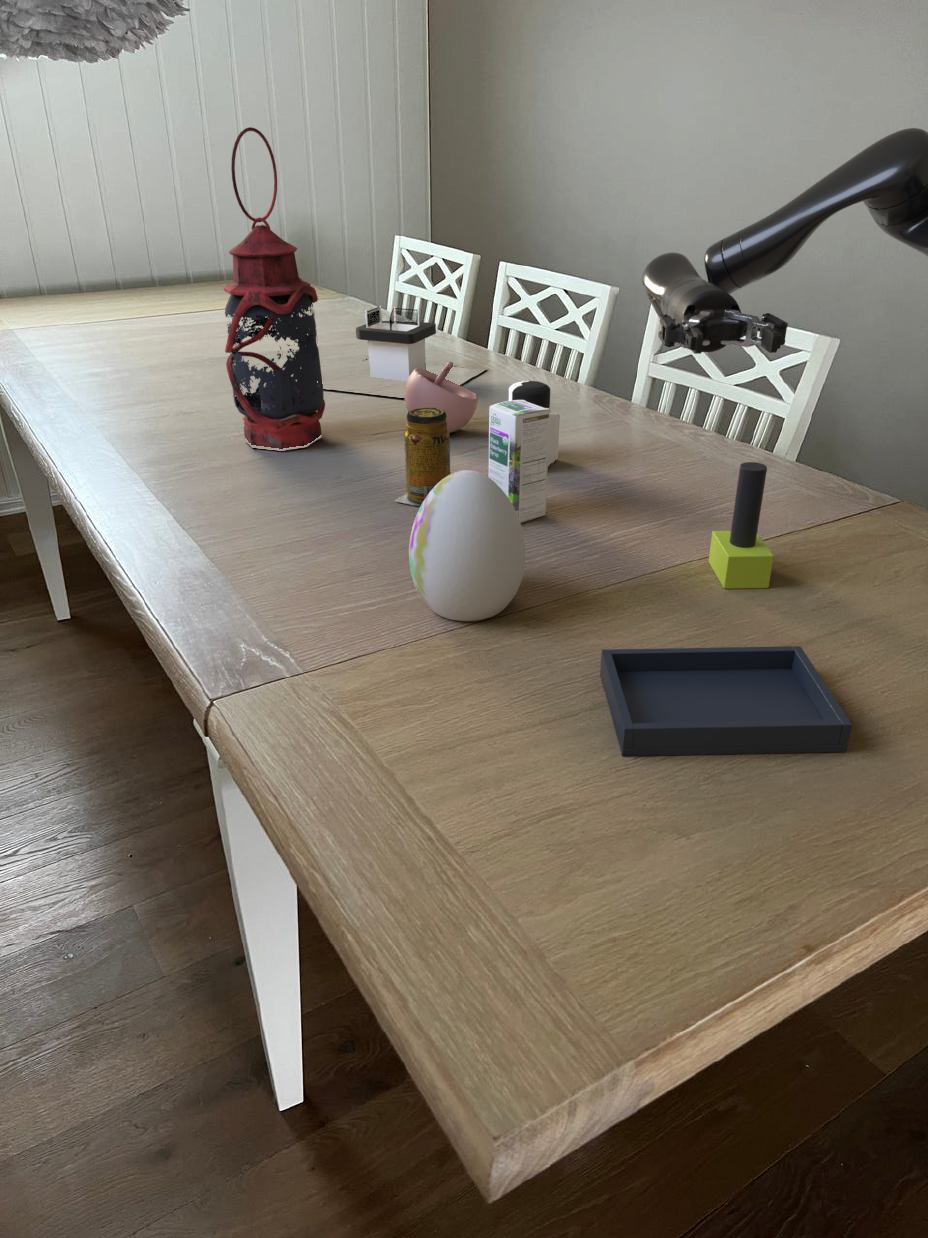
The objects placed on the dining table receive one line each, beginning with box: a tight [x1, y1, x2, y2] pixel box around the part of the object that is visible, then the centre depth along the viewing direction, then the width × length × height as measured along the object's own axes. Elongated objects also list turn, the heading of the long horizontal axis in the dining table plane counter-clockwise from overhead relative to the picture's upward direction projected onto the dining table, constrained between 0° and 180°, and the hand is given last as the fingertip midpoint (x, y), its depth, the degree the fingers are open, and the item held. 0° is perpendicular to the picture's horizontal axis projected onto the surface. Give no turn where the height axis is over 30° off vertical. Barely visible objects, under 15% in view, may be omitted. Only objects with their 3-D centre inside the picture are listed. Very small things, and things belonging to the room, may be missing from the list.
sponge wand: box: [708, 461, 775, 590], centre depth 102 cm, size 5×7×13 cm
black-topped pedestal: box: [355, 305, 437, 381], centre depth 181 cm, size 28×26×13 cm
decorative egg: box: [408, 469, 526, 622], centre depth 96 cm, size 12×12×15 cm
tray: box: [599, 645, 853, 757], centre depth 81 cm, size 19×13×3 cm
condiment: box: [394, 407, 452, 507], centre depth 124 cm, size 7×8×12 cm
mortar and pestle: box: [404, 361, 479, 434], centre depth 151 cm, size 12×12×11 cm
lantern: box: [222, 126, 326, 449], centre depth 140 cm, size 16×15×45 cm
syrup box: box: [487, 400, 551, 524], centre depth 118 cm, size 6×6×14 cm
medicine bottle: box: [508, 380, 561, 467], centre depth 137 cm, size 7×7×12 cm
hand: (737, 344), depth 104 cm, fingers open, 8 cm apart
